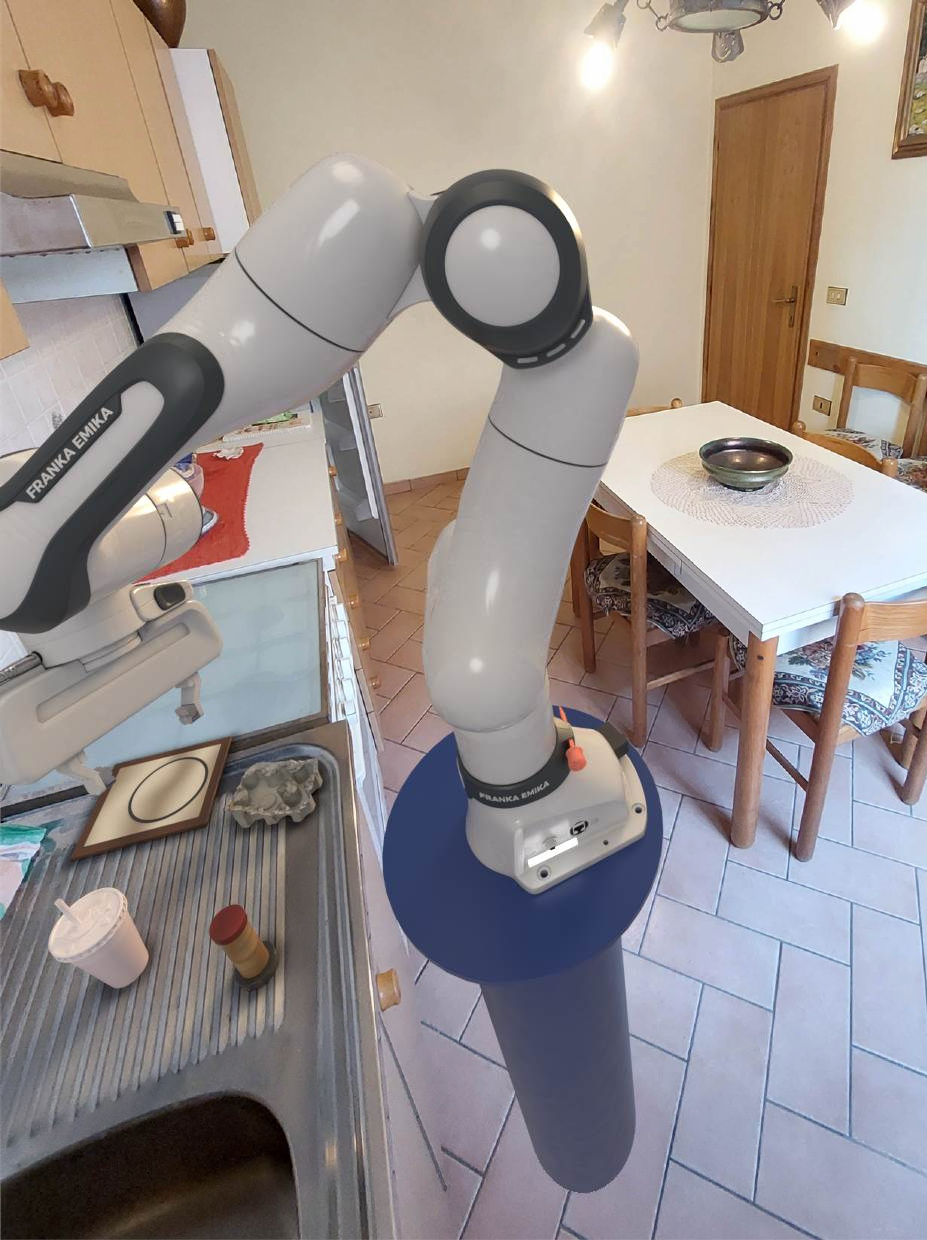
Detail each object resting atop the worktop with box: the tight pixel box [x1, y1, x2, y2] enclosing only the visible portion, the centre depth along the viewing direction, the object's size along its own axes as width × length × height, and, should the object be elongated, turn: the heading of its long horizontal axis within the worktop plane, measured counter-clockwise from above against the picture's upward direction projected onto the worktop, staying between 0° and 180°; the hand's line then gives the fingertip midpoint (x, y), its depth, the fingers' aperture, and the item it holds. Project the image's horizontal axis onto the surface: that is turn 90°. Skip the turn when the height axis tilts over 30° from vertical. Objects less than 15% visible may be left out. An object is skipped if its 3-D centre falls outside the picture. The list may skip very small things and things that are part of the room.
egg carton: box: [222, 757, 323, 829], centre depth 79 cm, size 11×8×4 cm
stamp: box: [208, 903, 280, 992], centre depth 61 cm, size 4×4×9 cm
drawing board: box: [69, 735, 234, 862], centre depth 82 cm, size 16×14×1 cm
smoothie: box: [47, 887, 149, 989], centre depth 61 cm, size 6×6×14 cm
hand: (152, 751), depth 58 cm, fingers open, 8 cm apart
